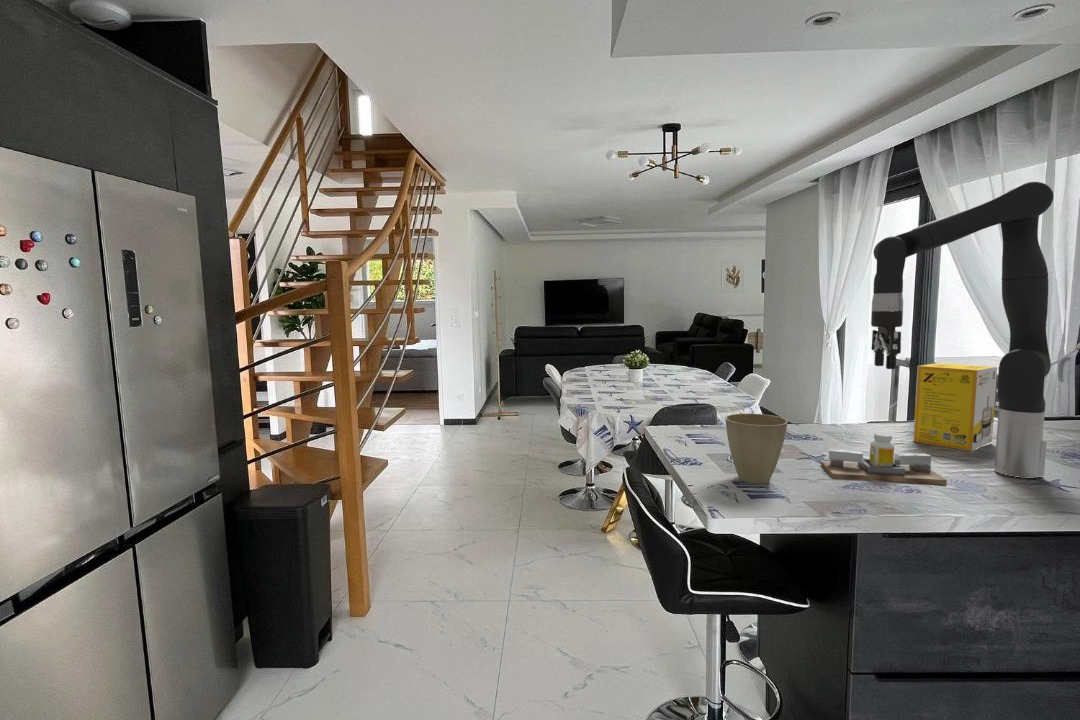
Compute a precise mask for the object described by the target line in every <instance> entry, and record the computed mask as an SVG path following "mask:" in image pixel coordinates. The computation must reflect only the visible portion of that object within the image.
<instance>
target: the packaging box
mask: <svg viewBox="0 0 1080 720" xmlns="http://www.w3.org/2000/svg"><path fill="white" fill-rule="evenodd" d="M916 369H917V370H916V386H915V400H914V401H915V403H914V404H915V405H914V421H913V439H912V441H913V442H916V443H922V444H926V445H933V446H937V447H943V446H945V447H944V448H949V447H952V448H951V449H955V448H959V449H958V450H961V449H966V450H974V449H976V448H978V447H981V446H983V445H985V444H987V443H990V442H992V443H993V434H994V432H993V431H994V420H995V418H994V417H995V407H996V406H995V403H996V392H997V391H996V390H997V379H998V366H986V365H985V366H984V365H974V364H973V365H972V364H970V365H969V364H958V363H957V364H956V363H943V362H936V363H927V364H922V365H917V368H916ZM966 450H965V451H966ZM974 451H975V450H974Z"/></svg>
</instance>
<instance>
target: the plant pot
mask: <svg viewBox="0 0 1080 720" xmlns="http://www.w3.org/2000/svg"><path fill="white" fill-rule="evenodd" d="M724 420H725V429H726V436H727V441H728V447H729V450H730V454H731V458H732V462H733V465H734V468H735V471H736V474H737V476H738V477H737V478H738V479H739V480H740V481H742V482H744V483H748V484H754V485H762V484H767V483H769V482H770V480H771V479H772V477H773V474H774V472H775V469H776V468H777V464H778V462H779V459H780V456H781V452H782V449H783V446H784V441H785V438H786V432H787V427H788V423H789V421H788V420H787V419H786V418H784V417H781V416H777V415H773V414H772V415H771V414H764V413H749V412H748V413H747V412H746V413H731V414H729V415H726V416H724Z"/></svg>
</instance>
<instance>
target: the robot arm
mask: <svg viewBox="0 0 1080 720" xmlns="http://www.w3.org/2000/svg"><path fill="white" fill-rule="evenodd" d="M1053 201H1054V191H1053V189H1052V188H1051V186H1049V185H1047V184H1046V183H1043V182H1041V181H1027V182H1022V183H1020V184H1018V185H1016V186H1014V187H1013V188H1011V189H1010V190H1008V191H1006V192H1005V193H1003V194H1001V195H999V196H997V197H995V198H993V199H991V200H988V201H987V202H986V201H985V202H984V203H982V204H979V205H976V206H973V207H970V208H968V209H965V210H962V211H960V212H956V213H952V214H949V215H947V216H944V217H942V218H941V217H940V218H938V219H936V220H933V221H930V222H927V223H923V224H921V225H918V226H917V227H914V228H913V229H911V230H910V231H906V232H903V233H900V234H897V235H894V236H893V235H891V236H887V237H885V238H883V239H881V240H879V242H878V243H876V245H875V246H874V248H873V257H874V259H875V260H876V270H875V271H876V272H875V275H874V279H873V291H872V292H873V295H872V299H871V300H872V301H871V314H870V315H871V317H870V319H871V320H870V321H871V322H870V325H871V327H872V328H877V329H872V335H871V350H872V351H873V353H874V366H876V367H883V366H884V363H885V369H887V370H895V369H896V367H897V356H898V355H899V354H901V349H902V331H897V330H896V328H901V327H902V326H903V319H904V318H903V317H904V297H903V292H904V270H905V265H906V258H909V257H911V256H914V255H915V254H918V253H921V252H927V251H930V250H933V249H936V248H939V247H941V246H944V245H948V244H950V243H953V242H955V241H958V240H960V239H963V238H965V237H968V236H969V235H972V234H974V233H977V232H979V231H981V230H985V229H987V228H991V227H993V226H996V225H1000V229H1001V237H1002V257H1001V299H1002V304H1003V308H1004V312H1005V316H1006V319H1007V322H1008V327H1009V332H1010V333H1009V349H1008V352H1007V353H1006V354H1005V355H1003V357H1002V358H1001V359H1000V361H999V365H998V370H997V398H998V414H997V416H998V417H997V429H996V430H997V431H996V440H995V441H996V443H995V445H996V446H995V457H994V470H995V471H996V472H995V471H994V472H995V473H997V472H999V473H1002V474H1007V475H1012V476H1019V477H1037V476H1044V477H1045V468H1046V456H1047V455H1046V454H1047V442H1046V441H1045V440H1044V429H1045V428H1044V426H1045V413H1046V401H1045V397H1044V395H1045V394H1044V392H1045V391H1044V390H1045V377H1047V375H1049V374H1050V371H1051V368H1052V367H1051V365H1052V362H1051V358H1050V357H1051V356H1050V352H1049V346H1048V344H1049V343H1048V338H1047V317H1048V308H1049V307H1048V306H1049V270H1048V267H1047V262H1046V259H1045V257H1044V254H1043V252H1042V249H1041V245H1040V243H1039V236H1038V235H1039V218H1040V216H1041V215H1042V214H1044V213H1045V212H1046V211H1047V210H1048V209H1049V208H1050V207H1051V206H1052V204H1053ZM885 353H886V355H885ZM885 356H886V359H885ZM999 473H998V474H999ZM1002 474H1001V475H1002Z"/></svg>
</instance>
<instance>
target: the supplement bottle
mask: <svg viewBox="0 0 1080 720" xmlns="http://www.w3.org/2000/svg"><path fill="white" fill-rule="evenodd" d="M892 438H893V436H892V434H890V433H886V432H885V433H884V432H876V433H874V434H873V439H874V440H873V441H871V442H870V445H869V446H870V449H869V459H870V460H869V465H870V466H879V467H893V461H894V457H895V445H894V443H893V442H892V440H893V439H892Z"/></svg>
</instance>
